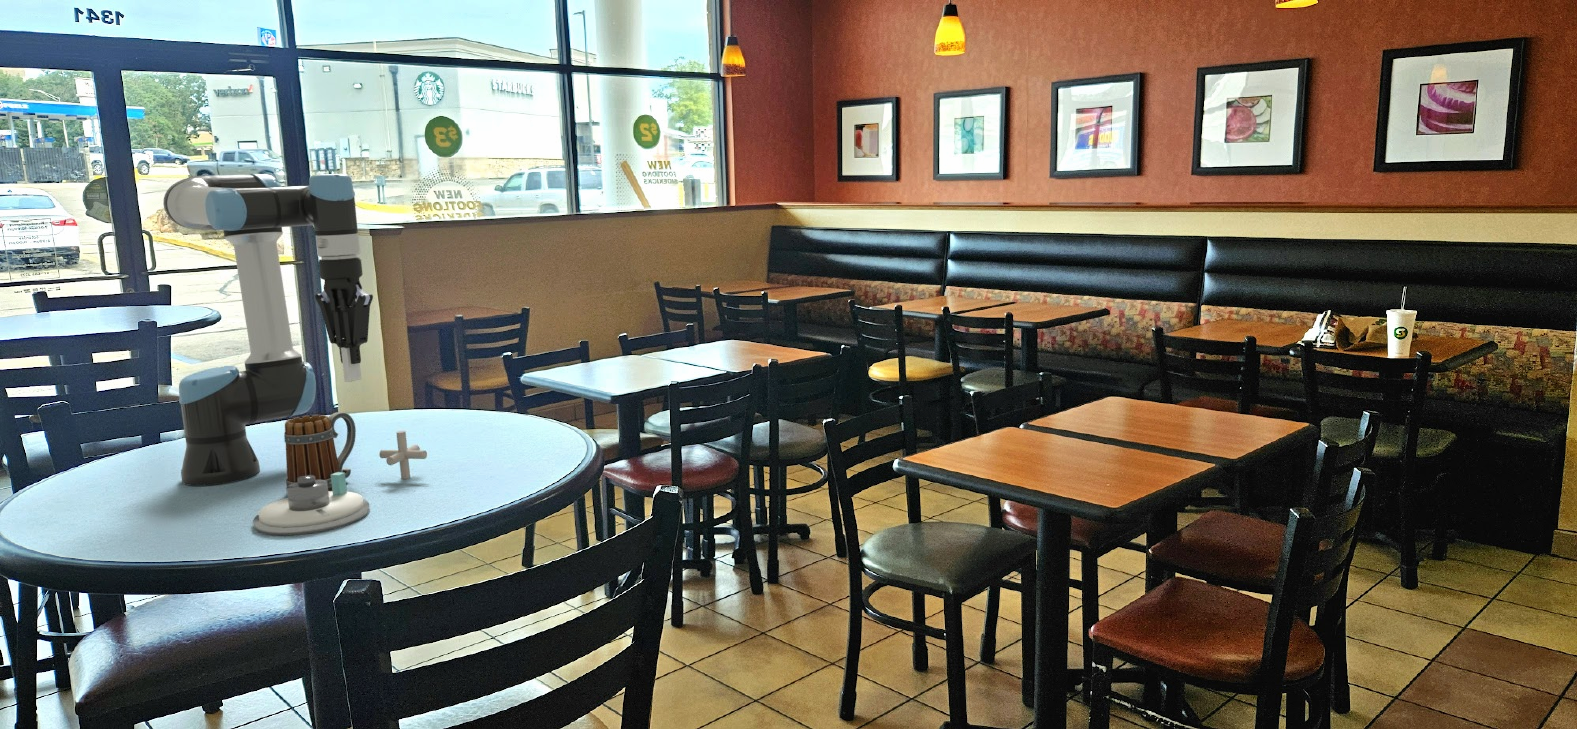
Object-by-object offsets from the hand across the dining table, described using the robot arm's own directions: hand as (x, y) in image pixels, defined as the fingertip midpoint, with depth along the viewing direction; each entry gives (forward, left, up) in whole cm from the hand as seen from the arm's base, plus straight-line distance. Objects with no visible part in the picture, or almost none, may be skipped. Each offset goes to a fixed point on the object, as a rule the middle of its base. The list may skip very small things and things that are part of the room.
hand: (353, 380), depth 207 cm
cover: (-2, -11, -22) cm, 25 cm away
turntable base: (-2, -11, -24) cm, 27 cm away
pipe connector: (-6, +16, -25) cm, 30 cm away
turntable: (-2, -11, -23) cm, 26 cm away
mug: (-17, +5, -25) cm, 30 cm away
